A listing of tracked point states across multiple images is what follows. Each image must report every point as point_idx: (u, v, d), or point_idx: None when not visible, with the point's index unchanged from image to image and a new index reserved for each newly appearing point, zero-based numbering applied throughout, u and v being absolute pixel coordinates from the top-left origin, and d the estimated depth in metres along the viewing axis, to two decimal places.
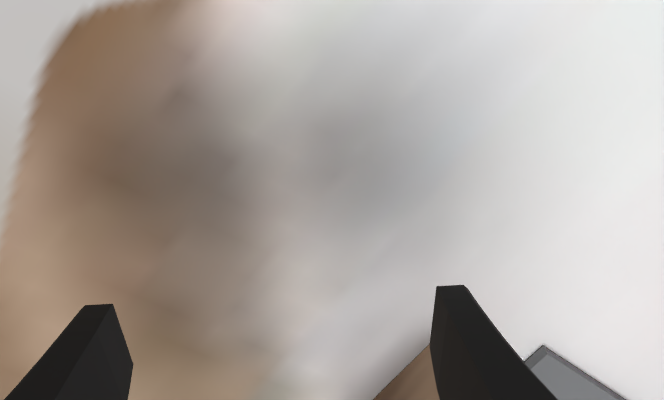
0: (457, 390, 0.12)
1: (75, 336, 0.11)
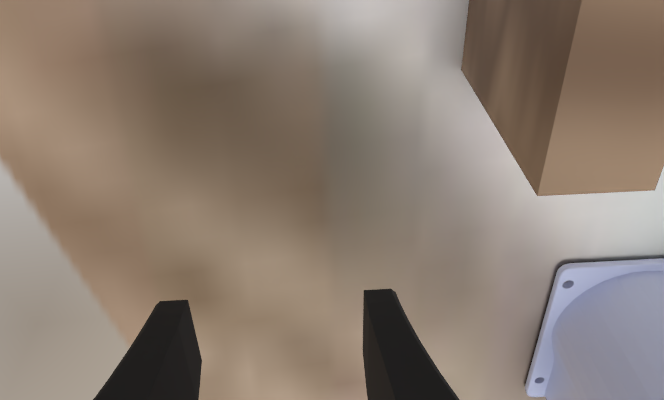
0: (377, 395, 0.12)
1: (157, 331, 0.11)
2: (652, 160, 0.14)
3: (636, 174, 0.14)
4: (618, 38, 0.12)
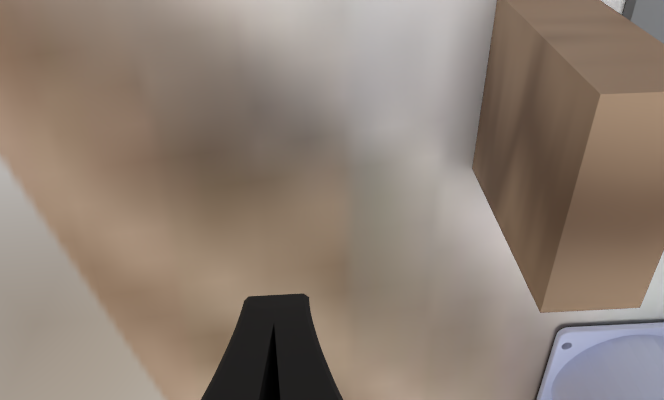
0: None
1: (254, 326, 0.11)
2: (637, 286, 0.17)
3: (624, 296, 0.17)
4: (608, 200, 0.15)
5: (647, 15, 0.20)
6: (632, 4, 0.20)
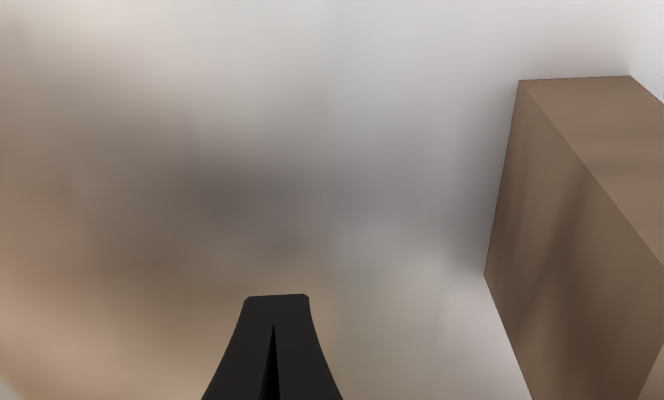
0: None
1: (255, 326, 0.11)
2: None
3: None
4: None
5: None
6: None
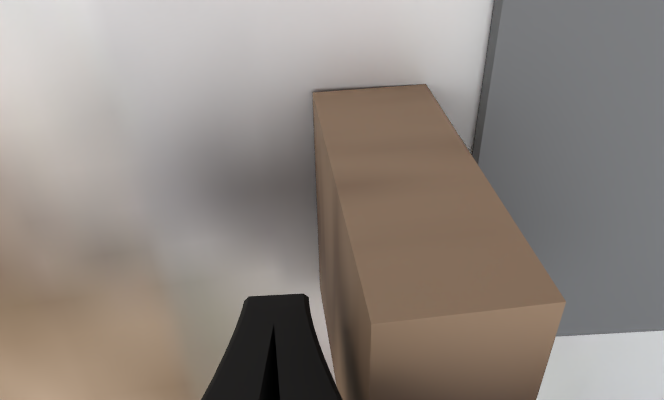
0: None
1: (255, 326, 0.11)
2: None
3: None
4: None
5: (505, 116, 0.15)
6: (485, 102, 0.15)
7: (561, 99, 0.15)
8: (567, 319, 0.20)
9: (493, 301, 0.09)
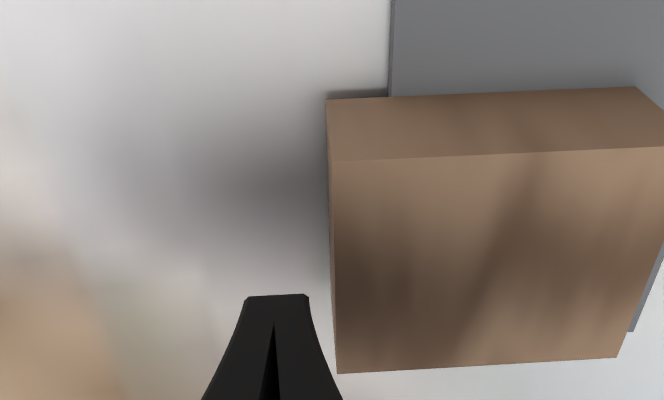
0: None
1: (255, 326, 0.11)
2: None
3: None
4: None
5: None
6: None
7: None
8: None
9: (649, 105, 0.14)
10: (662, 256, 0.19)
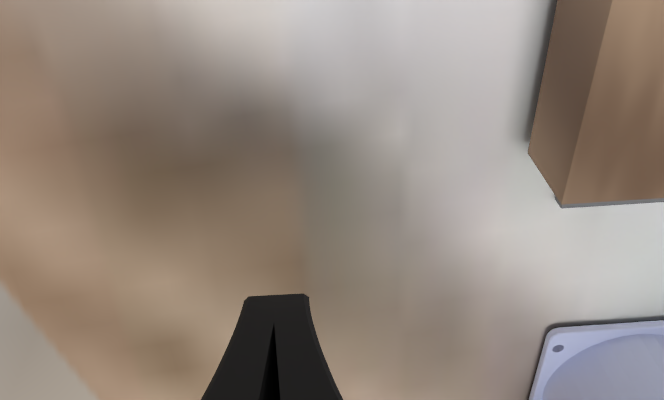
0: None
1: (255, 326, 0.11)
2: None
3: None
4: None
5: None
6: None
7: None
8: None
9: None
10: None
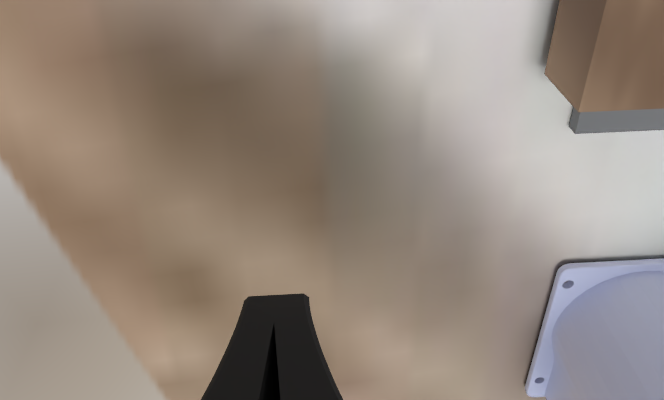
0: None
1: (255, 326, 0.11)
2: None
3: None
4: None
5: None
6: None
7: None
8: None
9: None
10: None
